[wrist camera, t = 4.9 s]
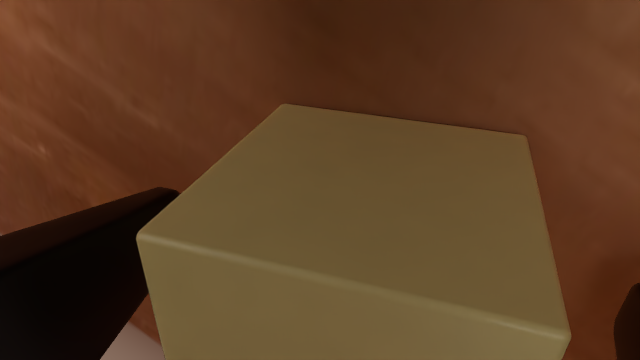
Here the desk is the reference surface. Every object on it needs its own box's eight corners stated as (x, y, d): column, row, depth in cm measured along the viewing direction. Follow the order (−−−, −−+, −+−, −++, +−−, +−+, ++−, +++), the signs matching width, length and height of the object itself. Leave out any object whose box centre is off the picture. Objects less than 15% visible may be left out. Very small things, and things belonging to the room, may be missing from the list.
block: (528, 133, 7) (575, 338, 4) (475, 319, 10) (474, 562, 6) (281, 101, 8) (131, 233, 5) (286, 274, 11) (185, 455, 7)
